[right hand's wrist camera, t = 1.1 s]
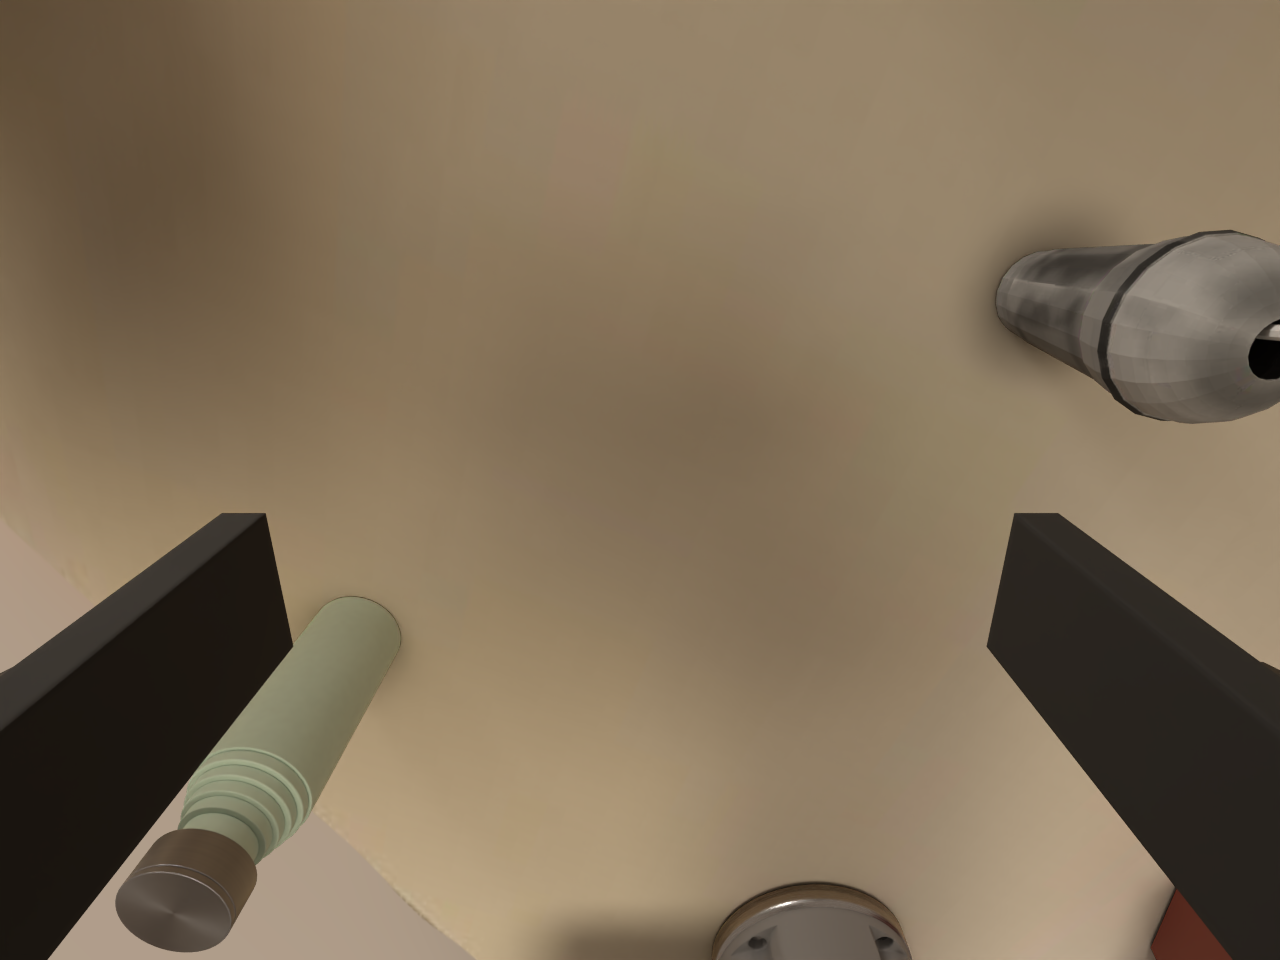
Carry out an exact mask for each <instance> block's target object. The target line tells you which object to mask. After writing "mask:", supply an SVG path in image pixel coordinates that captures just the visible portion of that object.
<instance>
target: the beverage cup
mask: <svg viewBox="0 0 1280 960" xmlns="http://www.w3.org/2000/svg"><path fill="white" fill-rule="evenodd" d="M996 307H997V312H998V317H999V318H1000V320H1001V321H1002V323H1003V324H1004V326H1005V327H1006V328H1007V329H1009V330H1010V331H1012V332H1013V333H1014V334H1016V335H1018V336H1019V337H1021V338H1022V339H1023V340H1025V341H1026V342H1028V343H1029V344H1031V345H1033V346H1035V347H1037V348H1038V349H1040V350H1042V351H1044V352H1046V353H1047V354H1049V355H1051V356H1053V357H1055V358H1056V359H1058V360H1060V361H1062V362H1064V363H1065V364H1067V365H1069V366H1071V367H1073V368H1074V369H1076V370H1078V371H1080V372H1082V373H1083V374H1085V375H1087V376H1089V377H1091V378H1092V379H1094V380H1095V381H1096V382H1097V383H1098V384H1100V385H1101V386H1102V387H1103V388H1104V389H1106V390H1107V391H1108V392H1110V393H1111V394H1112V396H1113V397H1114V399H1115V400H1116V401H1118V402H1119V403H1121V404H1122V405H1123V406H1125V407H1126V408H1128V409H1129V410H1130V411H1132V412H1133V413H1135V414H1138V415H1141V416H1145V417H1149V418H1153V419H1157V420H1161V421H1176V422H1179V423H1189V424H1196V423H1211V422H1225V421H1232V420H1236V419H1239V418H1243V417H1245V416H1248V415H1251V414H1254V413H1257V412H1260V411H1263V410H1266V409H1268V408H1270V407H1272V406H1273V405H1275V404H1277V403H1278V402H1280V245H1277V244H1273V243H1270V242H1266V241H1265V240H1262V239H1260V238H1258V237H1254V236H1251V235H1247V234H1244V233H1240V232H1237V231H1233V230H1222V231H1208V232H1198V233H1196V234H1193V235H1190V236H1187V237H1180V238H1175V239H1170V240H1166V241H1162V242H1159V243H1157V244H1144V245H1125V246H1105V247H1085V248H1067V249H1053V250H1051V251H1039V252H1035V253H1033V254H1030V255H1028V256H1025V257H1023V258H1022V259H1021V260H1019V261H1018V262H1017V263H1015V264H1014V265H1013V266H1012V267H1011V268H1010V269H1009V270H1008V272H1007V273H1006V274H1005V276H1004V277H1003V278H1002V281H1001V283H1000V286H999V288H998V290H997V298H996Z"/></svg>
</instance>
